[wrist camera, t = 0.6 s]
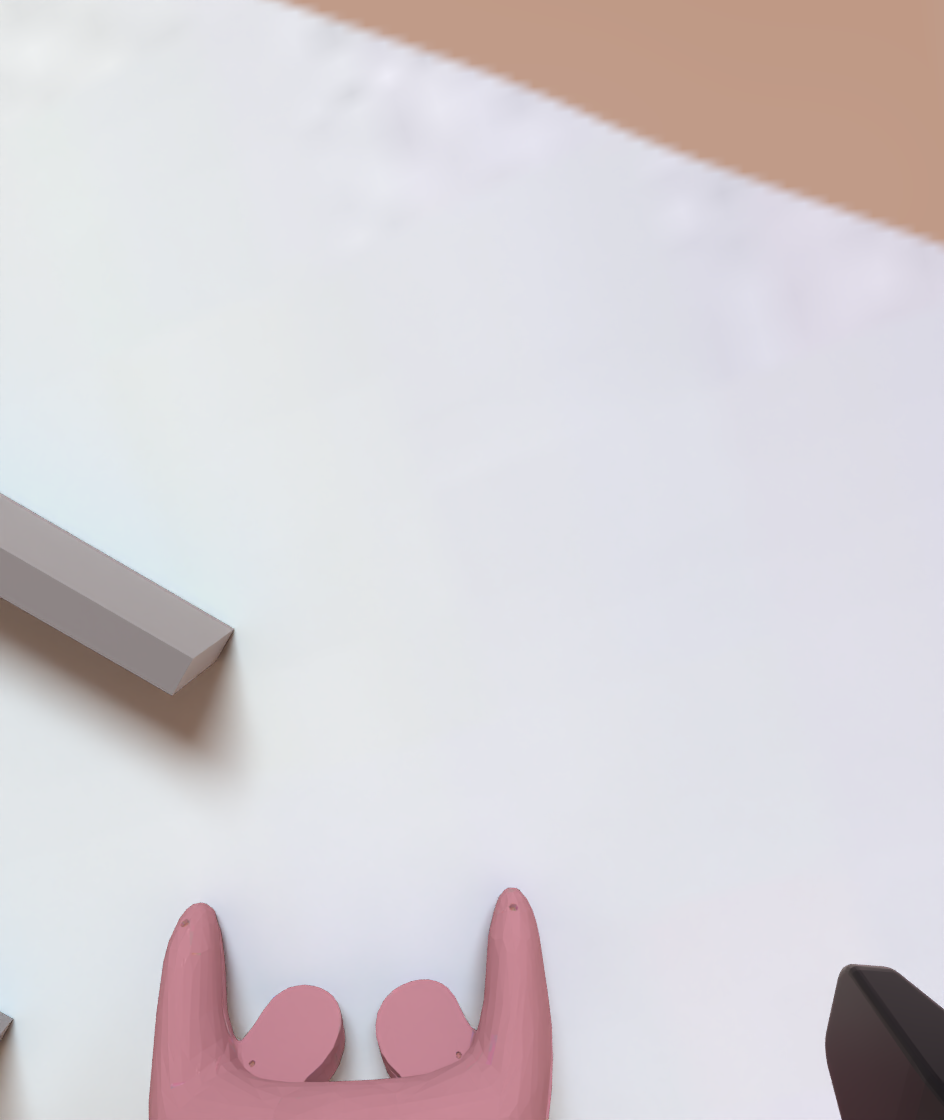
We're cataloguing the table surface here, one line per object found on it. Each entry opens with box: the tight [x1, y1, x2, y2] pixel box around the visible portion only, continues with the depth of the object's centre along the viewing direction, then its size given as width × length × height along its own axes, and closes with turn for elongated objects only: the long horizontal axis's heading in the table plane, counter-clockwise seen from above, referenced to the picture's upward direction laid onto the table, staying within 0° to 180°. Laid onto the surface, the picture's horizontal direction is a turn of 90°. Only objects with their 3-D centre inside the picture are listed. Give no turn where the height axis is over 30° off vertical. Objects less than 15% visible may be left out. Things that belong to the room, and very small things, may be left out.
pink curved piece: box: [149, 888, 553, 1120], centre depth 21 cm, size 10×5×7 cm, turn 94°
